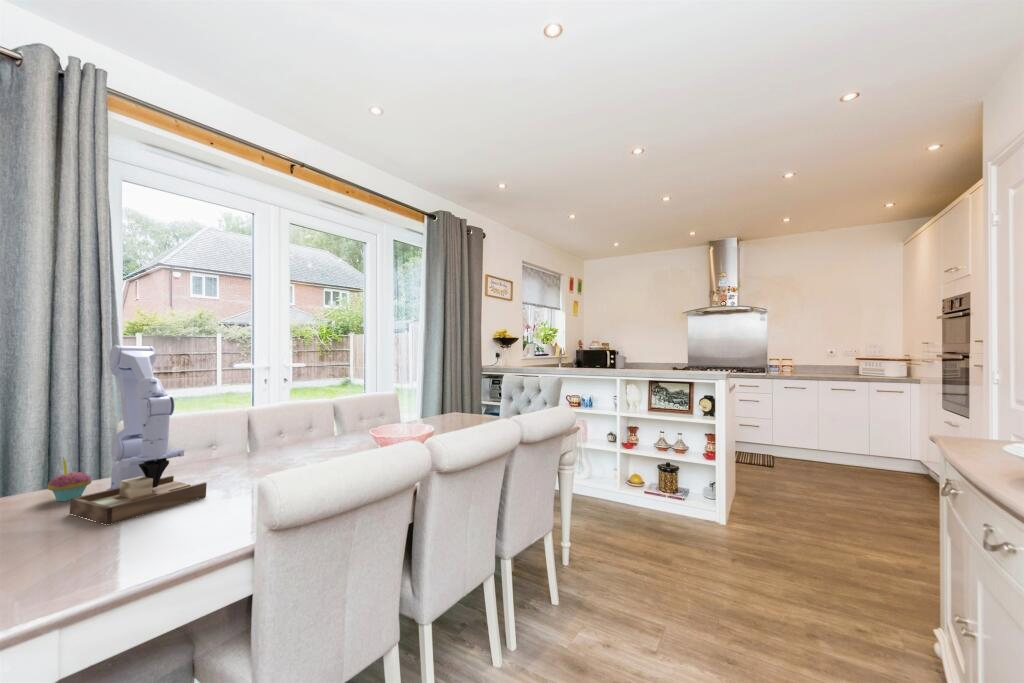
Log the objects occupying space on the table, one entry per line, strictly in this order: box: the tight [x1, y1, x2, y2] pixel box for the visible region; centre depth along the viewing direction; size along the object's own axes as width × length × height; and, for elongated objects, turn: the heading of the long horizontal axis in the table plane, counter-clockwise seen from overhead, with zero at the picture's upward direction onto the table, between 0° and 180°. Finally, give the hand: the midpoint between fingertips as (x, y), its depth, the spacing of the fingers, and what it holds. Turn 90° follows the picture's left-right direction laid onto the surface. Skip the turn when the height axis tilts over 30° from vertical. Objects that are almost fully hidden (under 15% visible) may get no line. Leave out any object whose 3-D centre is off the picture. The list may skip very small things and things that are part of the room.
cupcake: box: [47, 457, 93, 502], centre depth 117 cm, size 9×8×12 cm
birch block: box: [119, 476, 153, 499], centre depth 115 cm, size 5×5×4 cm
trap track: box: [69, 475, 208, 526], centre depth 114 cm, size 16×23×4 cm
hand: (152, 486), depth 119 cm, fingers closed
